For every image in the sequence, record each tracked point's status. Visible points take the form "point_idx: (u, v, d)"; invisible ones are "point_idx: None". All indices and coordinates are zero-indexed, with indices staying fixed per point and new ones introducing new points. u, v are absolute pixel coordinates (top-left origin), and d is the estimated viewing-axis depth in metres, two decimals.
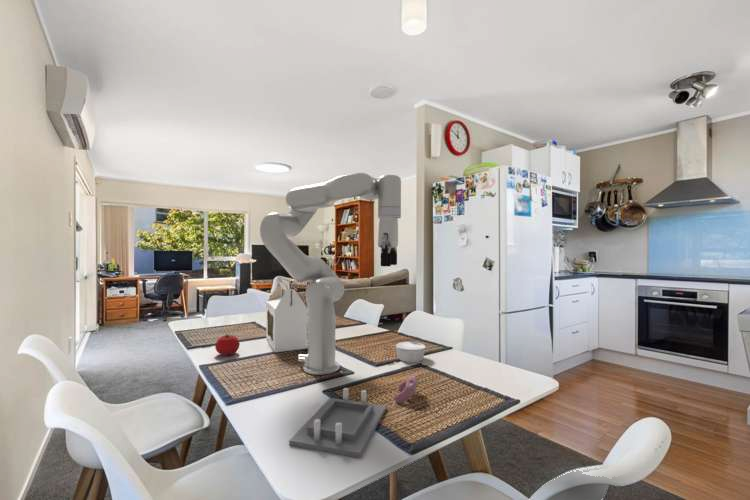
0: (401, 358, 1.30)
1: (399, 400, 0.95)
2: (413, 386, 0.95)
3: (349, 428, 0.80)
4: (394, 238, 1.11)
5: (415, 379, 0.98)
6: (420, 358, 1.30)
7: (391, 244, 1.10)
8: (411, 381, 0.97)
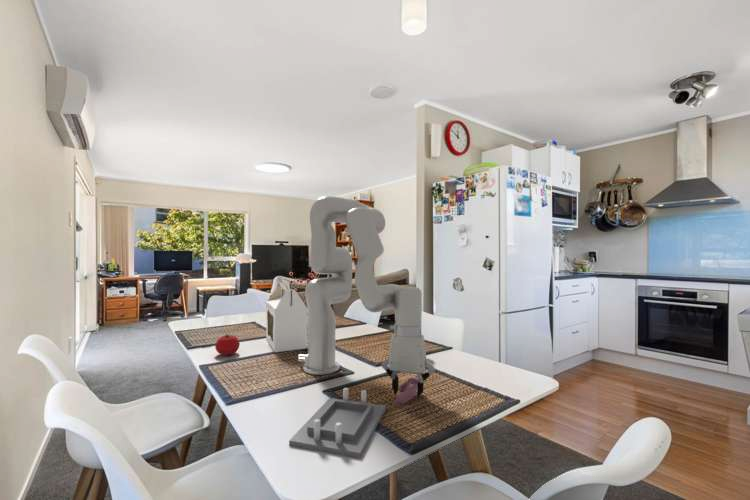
0: None
1: (400, 401, 0.95)
2: (414, 387, 0.95)
3: (349, 428, 0.80)
4: None
5: (416, 380, 0.98)
6: None
7: None
8: (412, 382, 0.97)
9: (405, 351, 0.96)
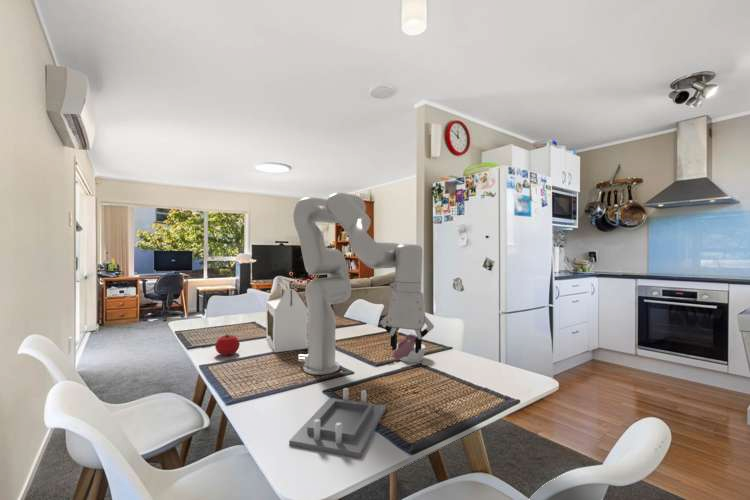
0: (401, 358, 1.30)
1: (397, 355, 0.95)
2: (412, 342, 0.96)
3: (349, 428, 0.80)
4: None
5: (414, 336, 0.99)
6: (420, 358, 1.30)
7: None
8: (410, 338, 0.98)
9: (404, 307, 0.97)
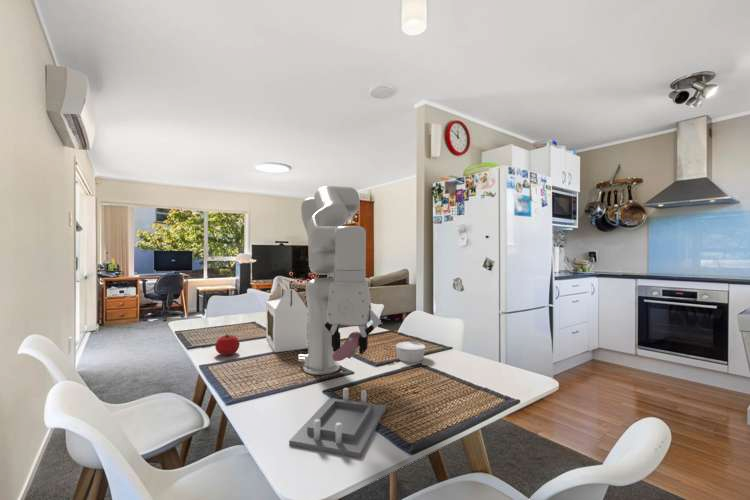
0: (401, 358, 1.30)
1: (337, 357, 0.80)
2: (354, 341, 0.81)
3: (349, 428, 0.80)
4: None
5: (359, 334, 0.84)
6: (420, 358, 1.30)
7: None
8: (353, 336, 0.82)
9: (345, 299, 0.82)
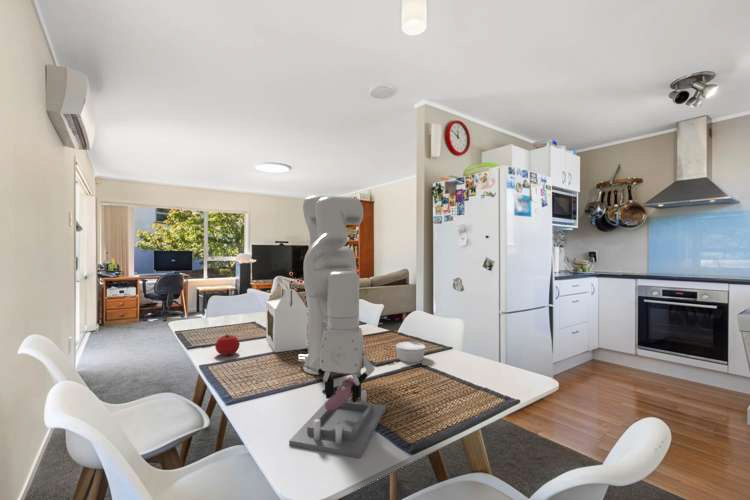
0: (401, 358, 1.30)
1: (329, 407, 0.79)
2: (347, 390, 0.79)
3: (349, 428, 0.80)
4: None
5: (352, 381, 0.82)
6: (420, 358, 1.30)
7: None
8: (346, 384, 0.81)
9: (338, 347, 0.80)
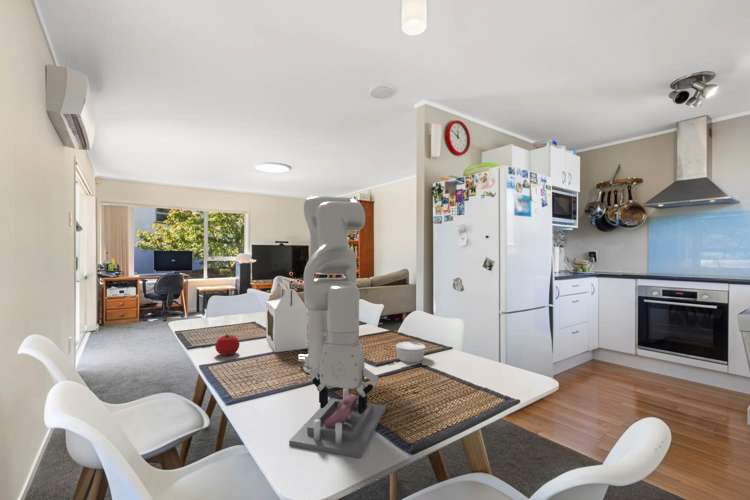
0: (401, 358, 1.30)
1: (329, 425, 0.79)
2: (346, 409, 0.79)
3: (349, 428, 0.80)
4: None
5: (352, 399, 0.83)
6: (420, 358, 1.30)
7: None
8: (346, 402, 0.81)
9: (338, 361, 0.81)
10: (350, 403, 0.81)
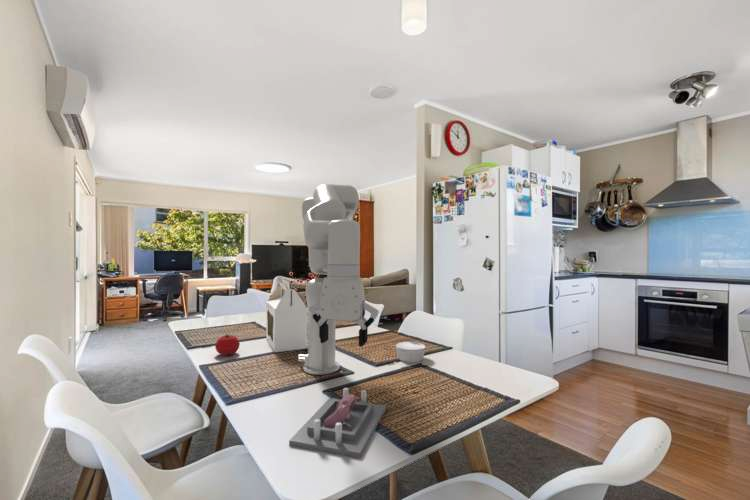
0: (401, 358, 1.30)
1: (328, 425, 0.79)
2: (345, 408, 0.79)
3: (349, 428, 0.80)
4: None
5: (351, 399, 0.83)
6: (420, 358, 1.30)
7: None
8: (345, 402, 0.81)
9: (338, 294, 0.80)
10: (349, 403, 0.81)
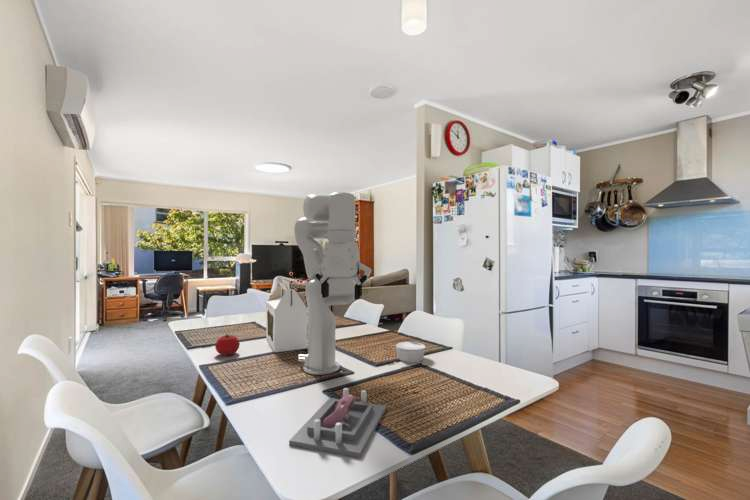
0: (401, 358, 1.30)
1: (326, 425, 0.79)
2: (344, 408, 0.79)
3: (349, 428, 0.80)
4: None
5: (349, 399, 0.83)
6: (420, 358, 1.30)
7: None
8: (344, 402, 0.81)
9: (337, 255, 0.95)
10: (348, 403, 0.81)
